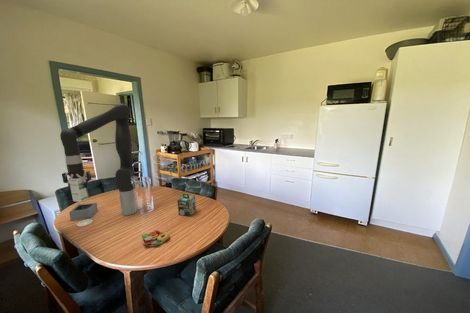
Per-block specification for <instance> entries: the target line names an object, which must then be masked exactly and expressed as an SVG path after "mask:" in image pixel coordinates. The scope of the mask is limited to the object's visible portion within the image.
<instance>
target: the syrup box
mask: <svg viewBox="0 0 470 313" xmlns="http://www.w3.org/2000/svg"><path fill="white" fill-rule="evenodd" d="M68 180H69V179H68ZM69 183H70V188H71V189H70V192H71V197H72V202H76V203H77V202H79V203H81V202H83V201H85V200H88V199H89V198H90V196H89V195H90V194H89V191H88V189H89V188H88V187H87V188H85V185H84V181H83V180H81V179H80V178H73V179H70V180H69Z"/></svg>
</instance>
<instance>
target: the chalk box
mask: <svg viewBox="0 0 470 313" xmlns="http://www.w3.org/2000/svg"><path fill="white" fill-rule="evenodd" d="M177 210H178V216H184V217H191V216H192V215H193V214H194V213H196V211H197V204H196V196H195V195H189V194H188V193H182V196H180V197H179V198H178V199H177Z"/></svg>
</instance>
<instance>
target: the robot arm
mask: <svg viewBox="0 0 470 313" xmlns="http://www.w3.org/2000/svg"><path fill="white" fill-rule="evenodd" d="M130 114H131V109H130V107H129V106H128V105H127V104H125V103H116V104H115V105H114V106H113V107H111V108H110V109H109V110H107V111H105V112H104V113H100V114H99V115H95V116H93V117H90V118H89V119H87V120H83V121H82V122H79V123H78V124H77V125H74V126H72V127H69V128H68V129H67V128H66V129H64V130H62V131H61V132H60V134H59V135H60V136H59V137H60V140H61V144H62V146H63V148H64V149H63V151H64V156H65V164H66V165H65V166H66V170H67V172H63V173H61V177H62V182H63V183H64V184H67V185H68V189H69V190H71V188H70V183H69V180H70V179H73V178H80V179H81V180H83V181H84V185H85V188H87V189H88V187H89V182H90V181H91V180H92V174H91V171H90V170H87V171H85V170H84V165H83V164H84V163H83V158H82V154H81V150H80V146H79V145H78V140H77V139H80V138H82V137H83V136H85V135H87V134H90V133H93V132H95V131H96V130H98V129H101V128H102V127H104V126H106V125H107V124H110V123H111V122H114V121H115V134H114V135H115V136H114V138H115V141H114V142H115V150H116V153H117V154H118V157H119V162H120V163H119V164H120V165H119V166H120V167H119V168H118V169H117V170H116V172H115V182H116V186H117V189H118V193H119V201H120V203H119V204H120V209H121V215H122V216H131V215H133V214H136V213H137V211H138V204H137V203H138V202H137V197H136V195H135V186H134V184H133V183H132V177H133V176H134V165H133V159H132V158H133V157H132V155H133V154H132V151H133V150H132V135H131V130H130V127H129V125H130V124H129V120H130ZM68 177H69V178H68Z"/></svg>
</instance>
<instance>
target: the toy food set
mask: <svg viewBox="0 0 470 313" xmlns="http://www.w3.org/2000/svg"><path fill="white" fill-rule="evenodd" d="M170 237H171V236H170V233H169V232H165V231H160V230H158V229H156V230H154V231H153V230H152V231H151V232H149V233H144V234H142V235H141V238H142V241H141V242H142V244H143V245H144V246H146V247H158V246H160V245H162V244H163V243H164V242H165V241H167V240H168V239H169V238H170Z"/></svg>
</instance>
